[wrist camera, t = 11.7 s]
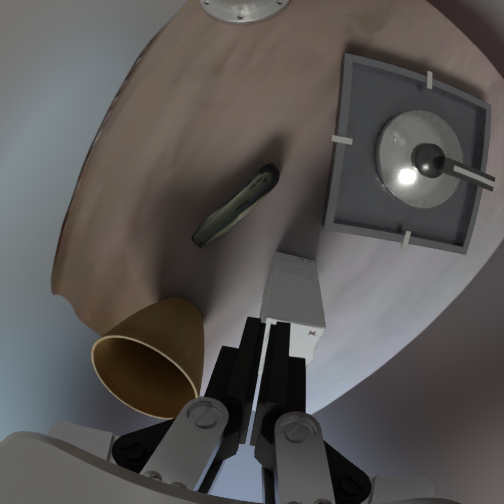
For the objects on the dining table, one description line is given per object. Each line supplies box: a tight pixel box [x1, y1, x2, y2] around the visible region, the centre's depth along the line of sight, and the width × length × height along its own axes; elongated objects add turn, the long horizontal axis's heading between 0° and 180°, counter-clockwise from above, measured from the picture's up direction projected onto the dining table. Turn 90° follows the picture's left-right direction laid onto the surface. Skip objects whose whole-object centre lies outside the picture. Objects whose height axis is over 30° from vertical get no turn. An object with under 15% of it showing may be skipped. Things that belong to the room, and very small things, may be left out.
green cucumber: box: [192, 163, 279, 248], centre depth 35 cm, size 5×3×15 cm
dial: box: [375, 110, 495, 208], centre depth 27 cm, size 16×12×6 cm
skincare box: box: [258, 252, 326, 374], centre depth 33 cm, size 8×6×15 cm
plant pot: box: [91, 297, 204, 419], centre depth 37 cm, size 15×15×16 cm
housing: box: [322, 53, 491, 255], centre depth 29 cm, size 23×23×3 cm
